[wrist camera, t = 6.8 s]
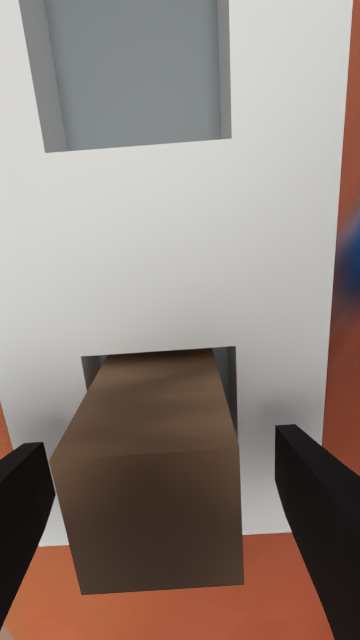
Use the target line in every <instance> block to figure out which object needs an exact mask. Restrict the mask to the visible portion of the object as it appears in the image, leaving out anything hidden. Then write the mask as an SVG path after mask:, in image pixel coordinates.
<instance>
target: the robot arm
mask: <svg viewBox="0 0 360 640" xmlns="http://www.w3.org/2000/svg"><path fill="white" fill-rule="evenodd" d="M275 483H276V486H277V490H278V493H279V497H280V500H281V504H282V507H283V510H284V513H285V516H286V519H287V521H288V524H289V526H290V528H291V531H292V533H293V536H294V538H295V541H296V543H297V545H298V548H299V550H300V553H301V555H302V557H303V560H304V562H305V565H306V567H307V569H308V572H309V574H310V577H311V579H312V581H313V584H314V586H315V589H316V591H317V593H318V596H319V598H320V601H321V603H322V606H323V608H324V611H325V614H326V616H327V619H328V622H329V624H330V627H331V630H332V633H333V636H334V639H335V640H360V476H358V475H357V474H356V473H354V472H353V471H352V470H351V469H349V468H348V467H347V466H345V465H344V464H343V463H342V462H340V461H339V460H338V459H337V458H335V457H334V456H333V455H332V454H330V453H329V452H328V451H327V450H326V449H324V448H323V447H322V446H321V445H320V444H318V443H317V442H316V441H315V440H314V439H312V438H311V437H310V436H309V435H308V434H307V433H305V432H304V431H303V430H302V429H301V428H299V427H298V426H297V425H296V424H288V425H275ZM55 496H56V493H55V489H54V484H53V480H52V476H51V472H50V468H49V464H48V460H47V455H46V451H45V447H44V443H43V442H31V443H23V444H22V445H20V446H19V447H17V448H16V449H15V450H13V451H12V452H10V453H9V454H8V455H6V456H5V457H4V458H3V459H1V460H0V630H1V628H2V625H3V623H4V620H5V618H6V616H7V614H8V611H9V609H10V607H11V605H12V603H13V600H14V598H15V596H16V594H17V591H18V589H19V587H20V585H21V582H22V580H23V578H24V576H25V574H26V571H27V569H28V567H29V565H30V562H31V560H32V558H33V556H34V553H35V551H36V549H37V547H38V544H39V542H40V540H41V537H42V535H43V533H44V530H45V528H46V524H47V521H48V518H49V515H50V512H51V509H52V506H53V502H54V499H55Z"/></svg>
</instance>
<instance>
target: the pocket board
mask: <svg viewBox="0 0 360 640" xmlns="http://www.w3.org/2000/svg"><path fill="white" fill-rule="evenodd" d="M352 5H353V0H0V402H1V406H2V409H3V413H4V417H5V421H6V424H7V428H8V432H9V436H10V439H11V443H12V447H13V450H15V449H16V448H17V447H19V446H20V445H22V444H23V443H31V442H43V443H44V447H45V451H46V455H47V460H48V464H49V460H50V458H51V456H52V454H53V452H54V451H55V449H56V447H57V445H58V443H59V442H60V440H61V438H62V436H63V434H64V433H65V431H66V429H67V427H68V425H69V423H70V422H71V420H72V418H73V416H74V414H75V413H76V411H77V409H78V407H79V405H80V404H81V402H82V400H83V398H84V396H85V395H86V393H87V391H88V389H89V387H90V386H91V384H92V382H93V380H94V378H95V377H96V375H97V373H98V371H99V369H100V368H101V366H102V364H103V362H104V360H105V359H106V357H107V355H110V354H125V353H140V352H155V351H170V350H184V349H199V348H212V350H213V353H214V357H215V361H216V364H217V368H218V372H219V375H220V379H221V382H222V386H223V390H224V393H225V397H226V401H227V404H228V408H229V411H230V415H231V419H232V422H233V426H234V430H235V433H236V437H237V441H238V444H239V452H240V482H241V511H242V535H249V534H266V533H284V532H292V531H291V528H290V526H289V524H288V521H287V519H286V516H285V513H284V510H283V507H282V504H281V500H280V497H279V493H278V490H277V486H276V483H275V425H288V424H296V425H297V426H298V427H299V428H301V429H302V430H303V431H304V432H305V433H307V434H308V435H309V436H310V437H311V438H312V439H314V440H315V441H316V442H317V443H318V444H320V445H321V446H322V432H323V417H324V403H325V389H326V375H327V361H328V346H329V332H330V318H331V304H332V289H333V275H334V261H335V247H336V233H337V218H338V204H339V190H340V176H341V162H342V147H343V133H344V119H345V105H346V90H347V76H348V62H349V48H350V34H351V19H352ZM49 468H50V464H49ZM50 472H51V468H50ZM51 476H52V472H51ZM52 480H53V476H52ZM53 484H54V480H53ZM54 489H55V485H54ZM55 493H56V489H55ZM38 545H39V547H41V546H58V545H69V542H68V538H67V533H66V529H65V525H64V521H63V517H62V513H61V509H60V505H59V501H58V497H57V493H56V496H55V499H54V502H53V506H52V509H51V512H50V515H49V518H48V521H47V524H46V528H45V530H44V533H43V535H42V537H41V540H40V542H39V544H38Z"/></svg>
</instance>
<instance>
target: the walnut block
mask: <svg viewBox="0 0 360 640" xmlns="http://www.w3.org/2000/svg"><path fill="white" fill-rule="evenodd" d="M49 464H50V468H51V472H52V476H53V480H54V485H55V489H56V493H57V497H58V501H59V505H60V509H61V513H62V517H63V521H64V525H65V529H66V533H67V538H68V542H69V546H70V550H71V554H72V558H73V562H74V566H75V570H76V574H77V578H78V582H79V586H80V591H81V595H90V594H106V593H121V592H137V591H153V590H168V589H184V588H200V587H215V586H231V585H244V570H243V541H242V511H241V482H240V452H239V444H238V441H237V437H236V433H235V430H234V426H233V422H232V419H231V415H230V411H229V408H228V404H227V401H226V397H225V393H224V390H223V386H222V382H221V379H220V375H219V372H218V368H217V364H216V361H215V357H214V353H213V350H212V348H199V349H184V350H170V351H155V352H140V353H125V354H110V355H107V357H106V359H105V360H104V362H103V364H102V366H101V368H100V369H99V371H98V373H97V375H96V377H95V378H94V380H93V382H92V384H91V386H90V387H89V389H88V391H87V393H86V395H85V396H84V398H83V400H82V402H81V404H80V405H79V407H78V409H77V411H76V413H75V414H74V416H73V418H72V420H71V422H70V423H69V425H68V427H67V429H66V431H65V433H64V434H63V436H62V438H61V440H60V442H59V443H58V445H57V447H56V449H55V451H54V452H53V454H52V456H51V458H50V460H49Z"/></svg>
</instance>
